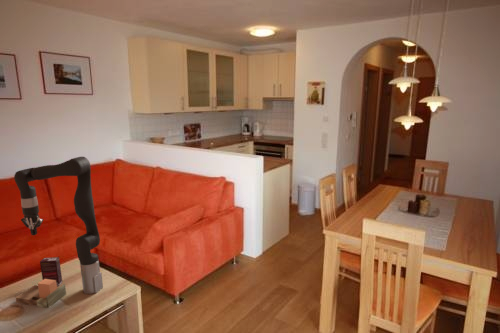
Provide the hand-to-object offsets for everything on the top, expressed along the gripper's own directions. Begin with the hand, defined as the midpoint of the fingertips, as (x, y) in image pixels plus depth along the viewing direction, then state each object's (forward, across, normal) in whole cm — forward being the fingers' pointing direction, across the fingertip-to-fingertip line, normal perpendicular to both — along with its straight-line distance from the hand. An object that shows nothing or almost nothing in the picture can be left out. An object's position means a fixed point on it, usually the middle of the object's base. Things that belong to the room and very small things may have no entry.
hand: (34, 234), depth 180 cm
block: (+28, -16, +12) cm, 35 cm away
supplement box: (+31, -6, -2) cm, 32 cm away
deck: (+31, -11, +11) cm, 35 cm away
